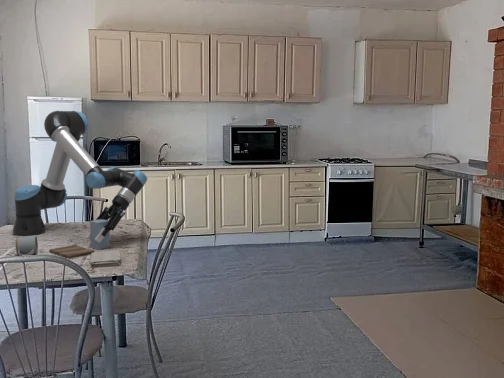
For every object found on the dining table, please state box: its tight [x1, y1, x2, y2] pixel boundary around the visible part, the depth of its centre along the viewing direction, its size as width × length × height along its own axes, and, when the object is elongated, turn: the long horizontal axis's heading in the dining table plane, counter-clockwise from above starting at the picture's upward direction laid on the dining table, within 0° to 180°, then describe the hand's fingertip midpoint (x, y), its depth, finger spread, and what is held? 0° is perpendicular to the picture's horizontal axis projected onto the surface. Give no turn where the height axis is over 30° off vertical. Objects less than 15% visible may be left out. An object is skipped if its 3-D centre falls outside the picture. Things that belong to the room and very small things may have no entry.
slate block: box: [89, 219, 111, 250], centre depth 235 cm, size 6×6×12 cm
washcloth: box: [89, 250, 122, 268], centre depth 213 cm, size 12×18×3 cm, turn 17°
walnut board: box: [48, 244, 95, 260], centre depth 225 cm, size 16×12×1 cm
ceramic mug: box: [15, 235, 39, 257], centre depth 222 cm, size 11×8×8 cm
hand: (93, 239), depth 232 cm, fingers closed on slate block, 6 cm apart
